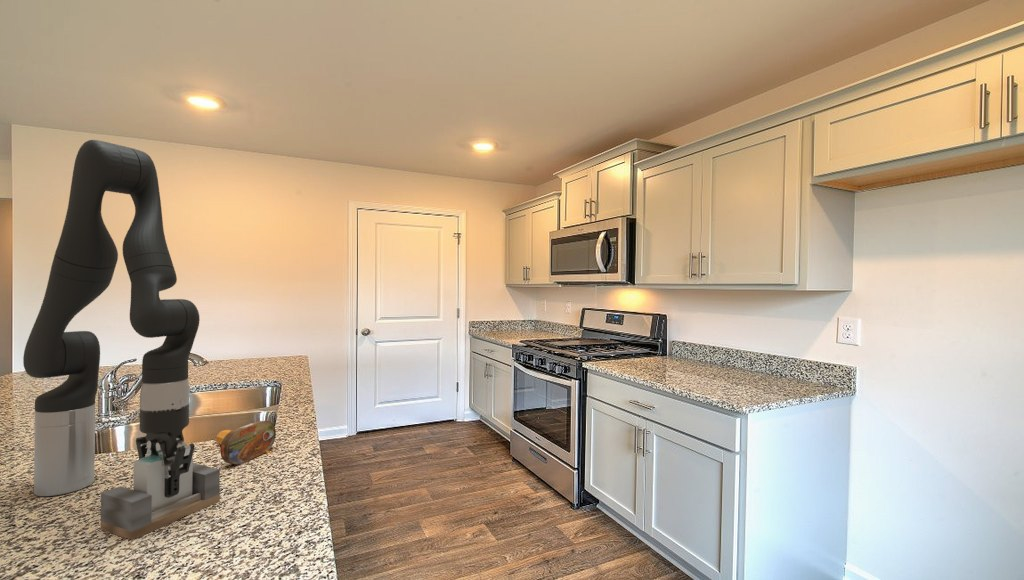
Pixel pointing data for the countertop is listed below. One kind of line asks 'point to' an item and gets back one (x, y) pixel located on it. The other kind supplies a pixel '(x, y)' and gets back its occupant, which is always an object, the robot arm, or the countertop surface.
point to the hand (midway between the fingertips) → (164, 493)
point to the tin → (248, 442)
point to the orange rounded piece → (223, 434)
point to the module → (159, 481)
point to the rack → (133, 509)
